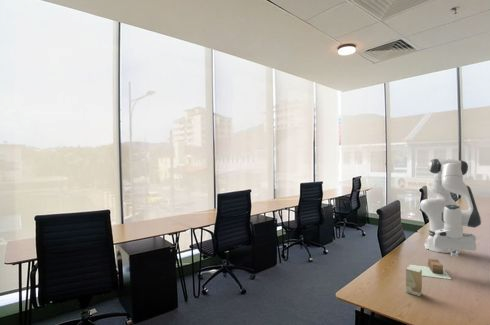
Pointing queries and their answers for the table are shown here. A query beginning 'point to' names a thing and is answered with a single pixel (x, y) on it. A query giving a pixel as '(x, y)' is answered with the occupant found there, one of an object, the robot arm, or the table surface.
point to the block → (435, 266)
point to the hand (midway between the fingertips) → (454, 256)
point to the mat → (428, 272)
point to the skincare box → (414, 281)
